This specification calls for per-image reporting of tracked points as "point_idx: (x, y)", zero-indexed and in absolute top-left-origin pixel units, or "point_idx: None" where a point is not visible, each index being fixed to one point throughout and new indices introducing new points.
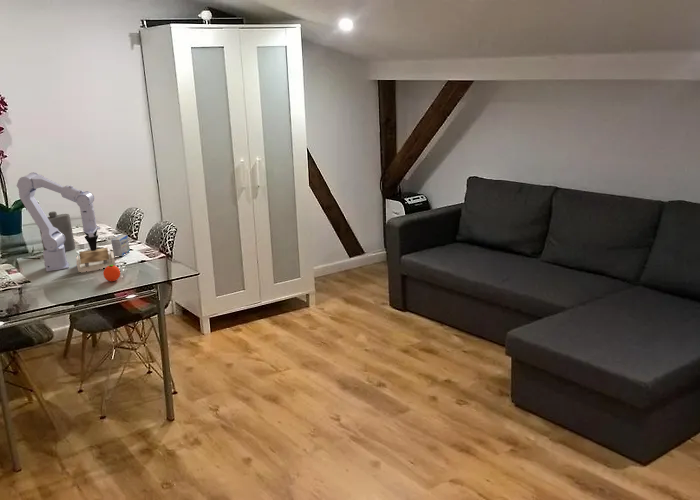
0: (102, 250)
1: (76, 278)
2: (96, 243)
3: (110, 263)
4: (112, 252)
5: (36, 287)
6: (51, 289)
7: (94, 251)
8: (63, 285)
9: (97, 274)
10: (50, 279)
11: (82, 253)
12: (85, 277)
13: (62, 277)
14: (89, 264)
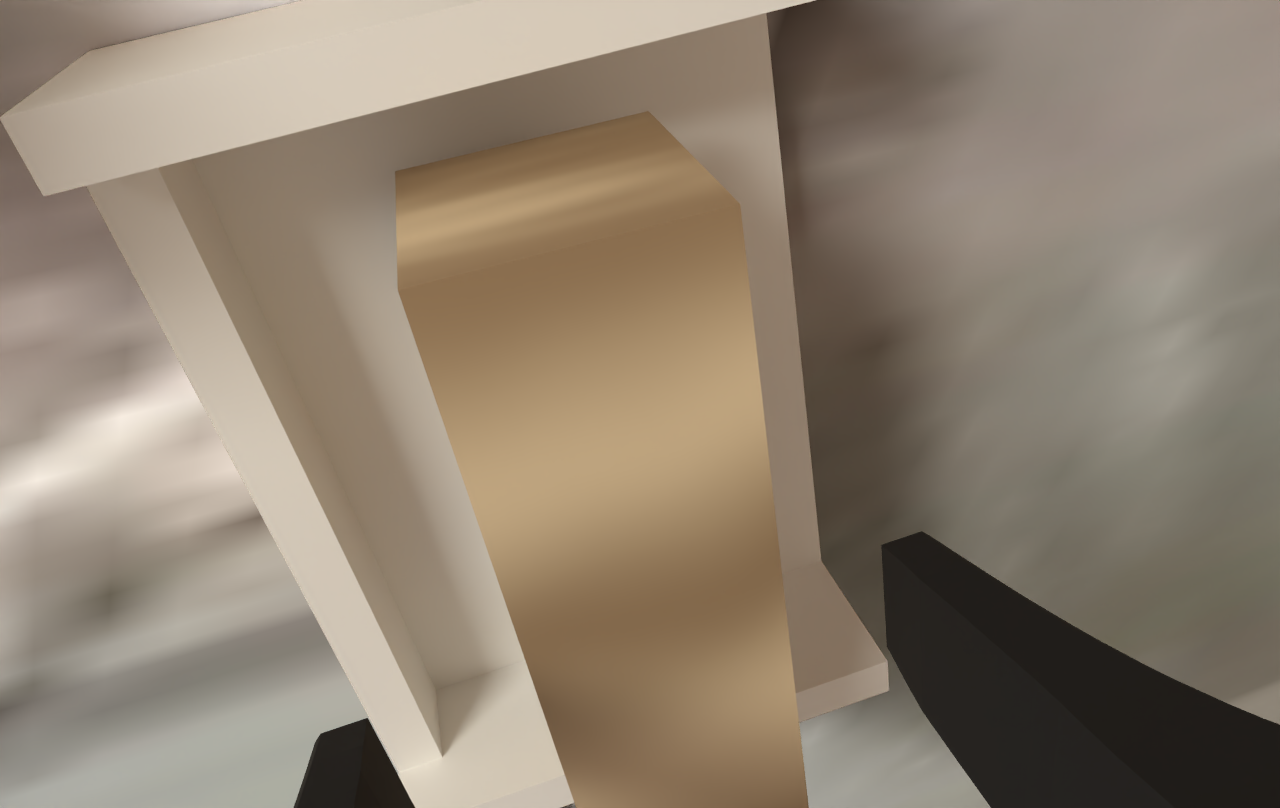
0: (718, 372)
1: (1042, 508)
2: (1135, 663)
3: (589, 69)
4: (232, 85)
5: None
6: (1256, 645)
7: (733, 573)
8: (1213, 572)
9: (1029, 231)
10: (913, 783)
11: (788, 775)
12: (1070, 394)
13: (906, 690)
14: None
